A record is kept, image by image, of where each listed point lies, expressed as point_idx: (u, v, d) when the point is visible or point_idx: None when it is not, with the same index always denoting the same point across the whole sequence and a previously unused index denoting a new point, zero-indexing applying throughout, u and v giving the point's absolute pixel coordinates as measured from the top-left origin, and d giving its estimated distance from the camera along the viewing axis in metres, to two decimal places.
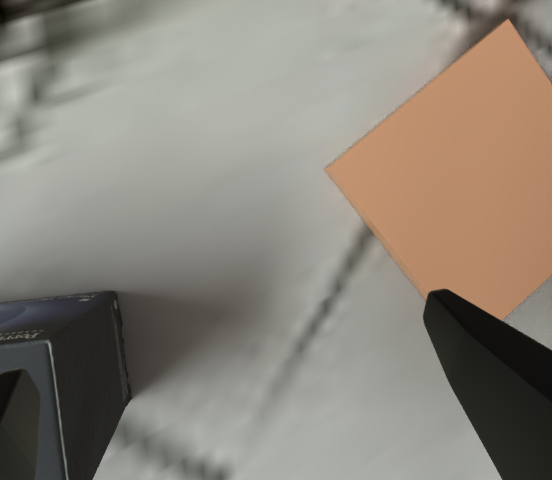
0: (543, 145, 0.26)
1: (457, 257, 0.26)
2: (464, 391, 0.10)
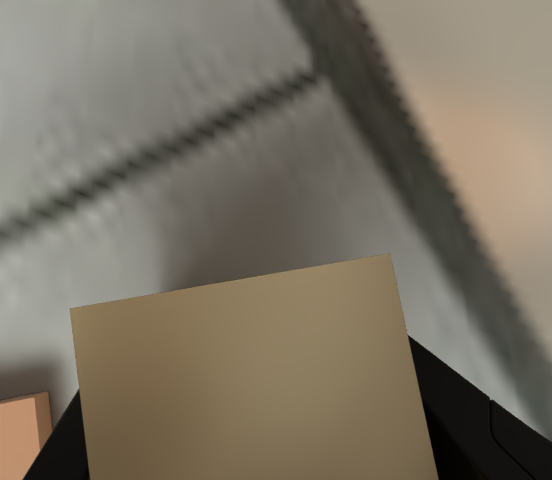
0: None
1: None
2: None
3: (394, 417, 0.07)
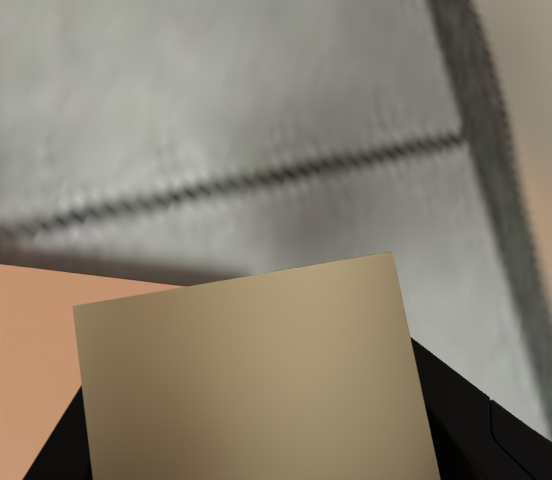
0: None
1: None
2: None
3: (396, 415, 0.07)
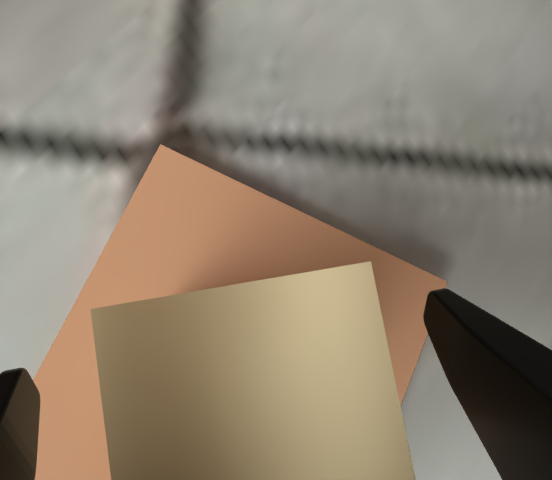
0: (287, 272, 0.18)
1: None
2: (464, 391, 0.10)
3: (373, 405, 0.08)
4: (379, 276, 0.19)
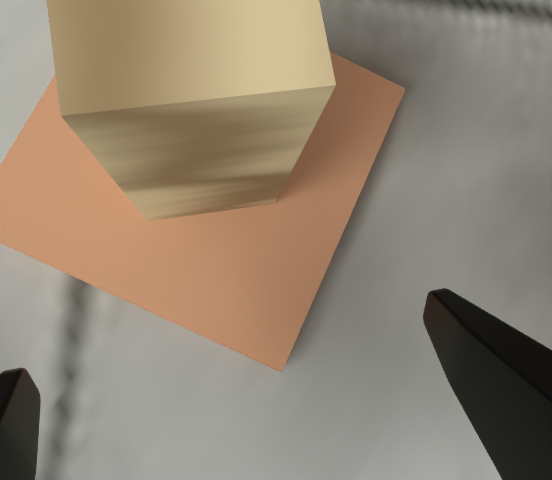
0: None
1: (203, 259, 0.18)
2: (464, 391, 0.10)
3: None
4: (340, 80, 0.20)
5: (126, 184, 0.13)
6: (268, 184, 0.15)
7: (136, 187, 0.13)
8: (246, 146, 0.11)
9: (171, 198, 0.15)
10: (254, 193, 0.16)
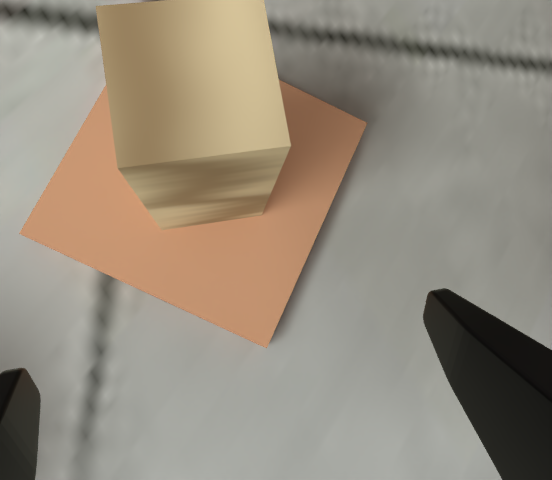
0: None
1: (204, 260, 0.23)
2: (464, 391, 0.10)
3: (260, 69, 0.14)
4: (314, 116, 0.25)
5: (150, 204, 0.18)
6: (254, 202, 0.20)
7: (156, 206, 0.18)
8: (235, 179, 0.16)
9: (181, 213, 0.20)
10: (244, 208, 0.21)
